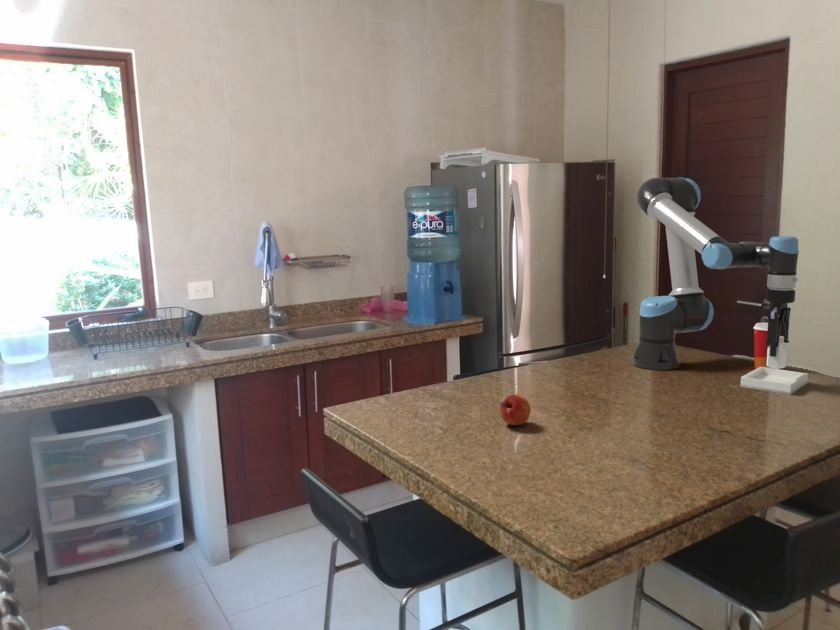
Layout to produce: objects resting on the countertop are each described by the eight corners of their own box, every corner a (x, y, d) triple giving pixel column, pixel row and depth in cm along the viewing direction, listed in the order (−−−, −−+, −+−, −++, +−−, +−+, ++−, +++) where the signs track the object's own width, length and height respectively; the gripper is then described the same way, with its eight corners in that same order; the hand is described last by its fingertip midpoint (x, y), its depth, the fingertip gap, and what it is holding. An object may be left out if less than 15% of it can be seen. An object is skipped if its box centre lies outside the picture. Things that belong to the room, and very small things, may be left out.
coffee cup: (772, 365, 226) (775, 322, 224) (782, 371, 218) (786, 326, 216) (746, 365, 227) (749, 322, 225) (756, 371, 219) (759, 326, 217)
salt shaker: (777, 369, 199) (779, 338, 197) (765, 366, 203) (767, 336, 201) (786, 368, 200) (788, 337, 199) (774, 365, 204) (776, 334, 203)
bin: (740, 386, 201) (741, 377, 201) (760, 375, 213) (760, 366, 213) (789, 394, 192) (790, 384, 191) (807, 383, 204) (808, 373, 204)
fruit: (493, 422, 171) (493, 392, 170) (520, 418, 174) (520, 388, 173) (509, 431, 164) (509, 400, 162) (537, 427, 167) (537, 396, 166)
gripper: (785, 292, 189) (780, 372, 193) (803, 286, 202) (798, 362, 205) (757, 290, 194) (752, 368, 198) (776, 285, 207) (772, 358, 210)
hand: (775, 365), depth 201 cm, fingers closed on salt shaker, 5 cm apart
